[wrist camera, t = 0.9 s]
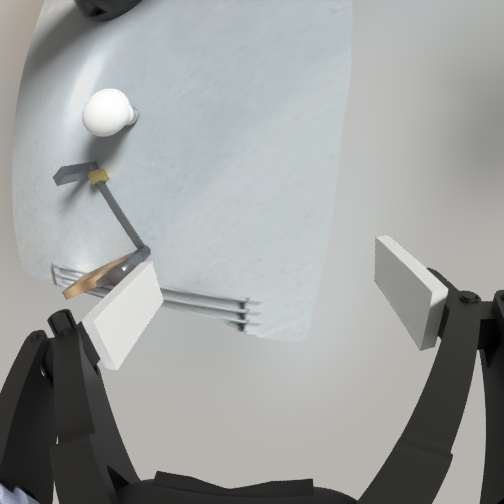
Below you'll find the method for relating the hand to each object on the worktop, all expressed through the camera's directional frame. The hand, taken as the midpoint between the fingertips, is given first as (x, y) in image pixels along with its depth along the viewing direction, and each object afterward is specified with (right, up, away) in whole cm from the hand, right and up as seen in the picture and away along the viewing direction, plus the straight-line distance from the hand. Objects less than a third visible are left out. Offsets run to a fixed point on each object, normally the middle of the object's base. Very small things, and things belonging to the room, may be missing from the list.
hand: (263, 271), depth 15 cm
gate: (-25, -1, +29) cm, 38 cm away
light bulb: (-19, +22, +21) cm, 35 cm away
